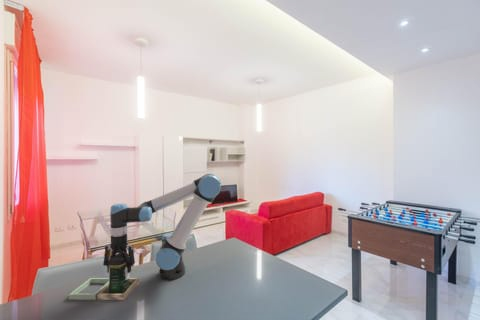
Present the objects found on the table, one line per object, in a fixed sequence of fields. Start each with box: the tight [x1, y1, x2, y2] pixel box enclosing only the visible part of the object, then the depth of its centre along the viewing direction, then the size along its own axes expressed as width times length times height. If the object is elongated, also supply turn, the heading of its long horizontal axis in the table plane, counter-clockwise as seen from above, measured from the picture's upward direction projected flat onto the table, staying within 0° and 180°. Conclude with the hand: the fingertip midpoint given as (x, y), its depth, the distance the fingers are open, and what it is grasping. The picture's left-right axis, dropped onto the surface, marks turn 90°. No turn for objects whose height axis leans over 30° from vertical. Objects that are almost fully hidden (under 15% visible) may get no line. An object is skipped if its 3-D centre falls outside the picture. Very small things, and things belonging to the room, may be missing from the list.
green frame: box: [68, 277, 109, 301], centre depth 116 cm, size 13×15×2 cm
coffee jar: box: [108, 252, 130, 294], centre depth 115 cm, size 10×8×19 cm
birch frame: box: [96, 277, 140, 301], centre depth 115 cm, size 13×15×2 cm
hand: (119, 278), depth 115 cm, fingers closed on coffee jar, 8 cm apart
